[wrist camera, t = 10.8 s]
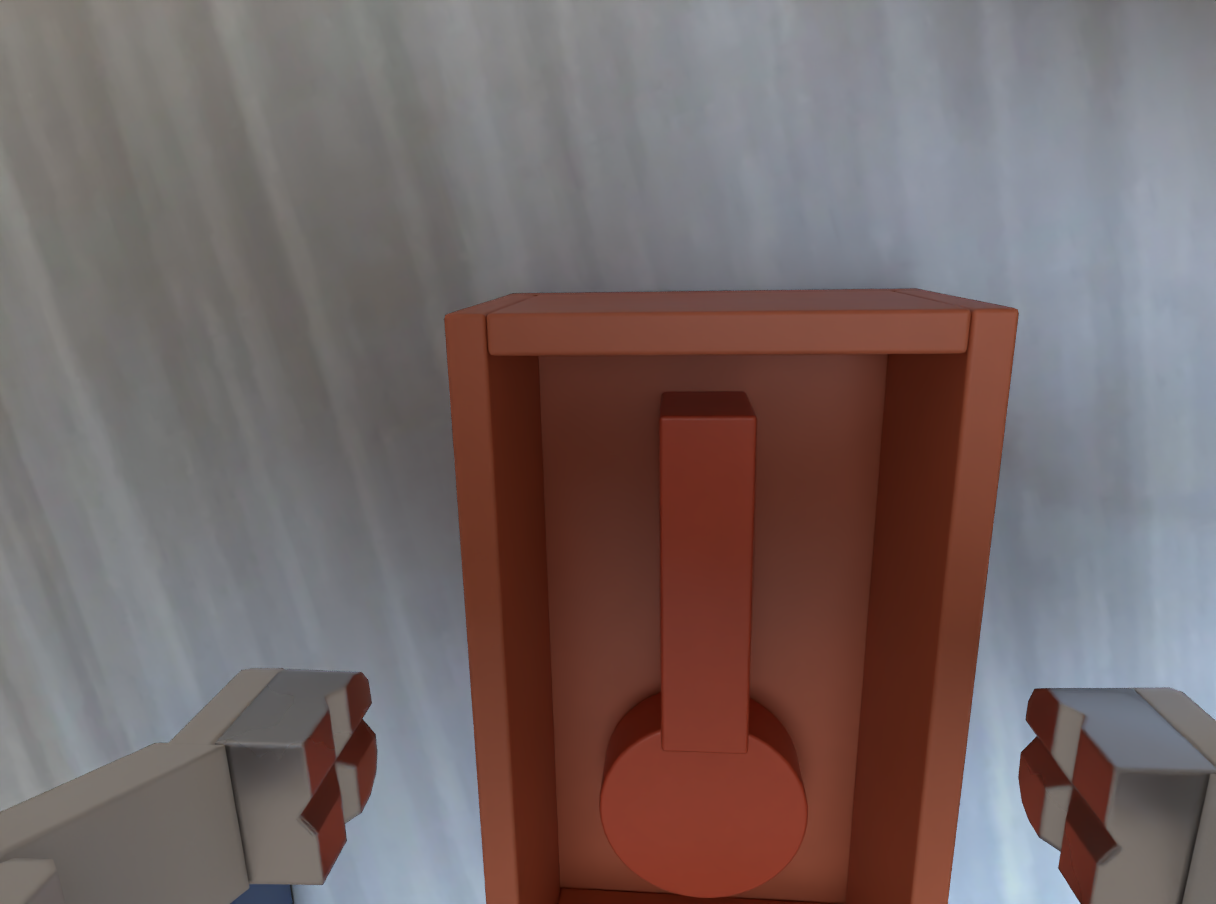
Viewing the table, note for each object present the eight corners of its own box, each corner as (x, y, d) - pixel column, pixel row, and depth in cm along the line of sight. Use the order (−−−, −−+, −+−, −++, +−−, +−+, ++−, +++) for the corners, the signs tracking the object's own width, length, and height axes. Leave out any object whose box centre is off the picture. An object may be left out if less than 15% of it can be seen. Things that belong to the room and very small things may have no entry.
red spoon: (594, 391, 15) (580, 416, 13) (816, 390, 14) (840, 415, 12) (607, 844, 18) (597, 926, 16) (794, 853, 17) (811, 939, 15)
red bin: (540, 888, 19) (498, 1082, 14) (510, 293, 15) (441, 313, 11) (865, 907, 18) (923, 1117, 14) (918, 288, 14) (1022, 308, 10)
